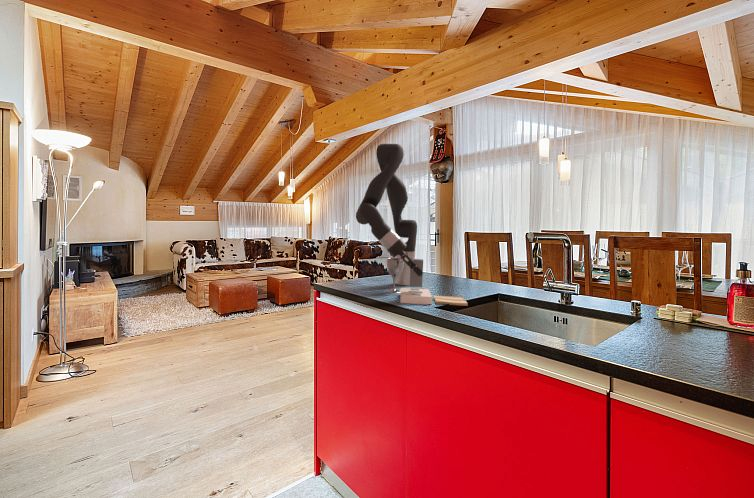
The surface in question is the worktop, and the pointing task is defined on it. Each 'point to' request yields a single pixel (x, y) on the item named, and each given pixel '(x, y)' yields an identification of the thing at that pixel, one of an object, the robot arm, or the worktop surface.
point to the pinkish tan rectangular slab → (416, 296)
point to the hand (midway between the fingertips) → (420, 274)
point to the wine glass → (394, 271)
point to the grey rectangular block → (414, 278)
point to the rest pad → (450, 300)
